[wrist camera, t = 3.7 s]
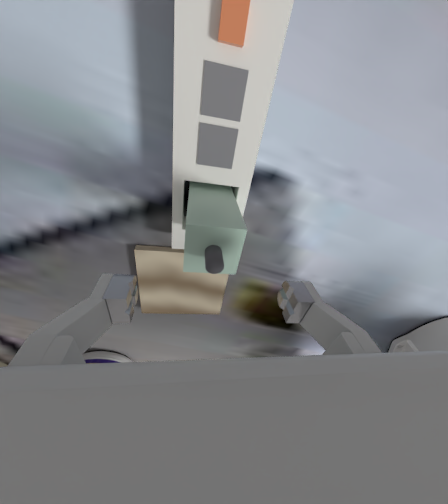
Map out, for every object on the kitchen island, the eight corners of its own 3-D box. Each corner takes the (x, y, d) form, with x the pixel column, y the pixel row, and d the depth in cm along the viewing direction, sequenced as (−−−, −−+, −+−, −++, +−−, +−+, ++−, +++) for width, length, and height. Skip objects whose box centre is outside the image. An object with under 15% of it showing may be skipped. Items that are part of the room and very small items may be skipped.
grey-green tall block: (222, 215, 24) (238, 289, 14) (188, 212, 23) (181, 287, 14) (228, 181, 21) (252, 243, 12) (190, 176, 21) (184, 237, 11)
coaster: (218, 309, 34) (219, 314, 33) (143, 307, 32) (141, 313, 31) (231, 251, 27) (232, 256, 26) (136, 244, 25) (134, 249, 24)
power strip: (231, 238, 26) (235, 256, 23) (174, 233, 24) (171, 251, 21) (282, -4, 14) (304, -30, 11) (179, -35, 13) (174, -75, 10)
